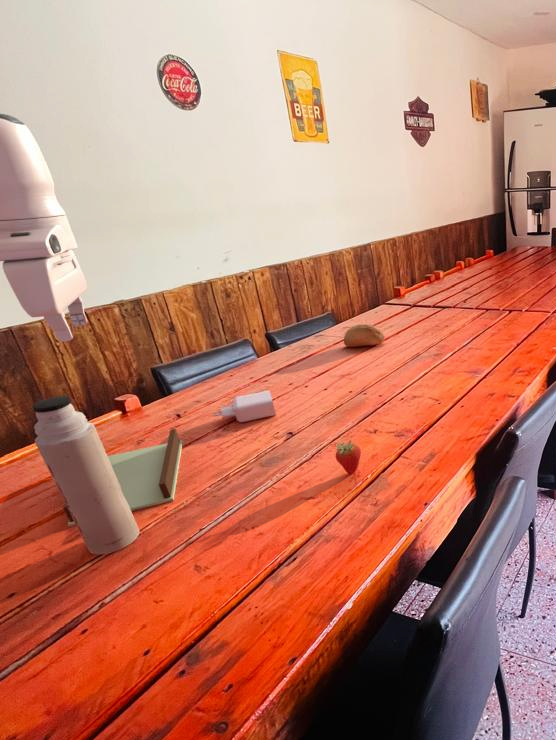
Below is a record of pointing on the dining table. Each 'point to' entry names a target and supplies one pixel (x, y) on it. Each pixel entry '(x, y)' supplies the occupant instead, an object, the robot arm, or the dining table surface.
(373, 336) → the bread roll
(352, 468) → the fruit
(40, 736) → the dining table surface
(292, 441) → the dining table surface
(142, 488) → the tray
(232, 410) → the white nozzle bottle
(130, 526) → the thermos bottle
